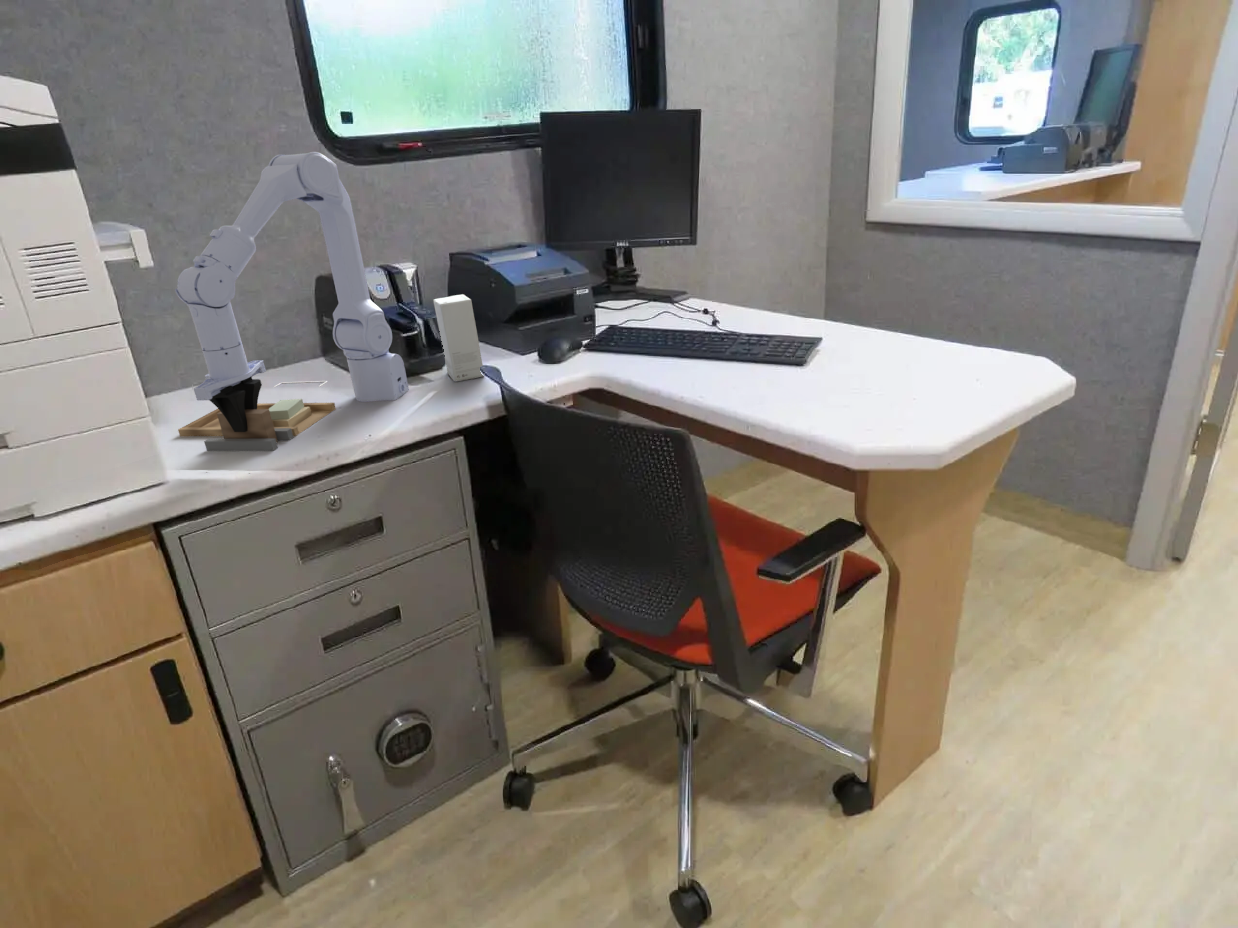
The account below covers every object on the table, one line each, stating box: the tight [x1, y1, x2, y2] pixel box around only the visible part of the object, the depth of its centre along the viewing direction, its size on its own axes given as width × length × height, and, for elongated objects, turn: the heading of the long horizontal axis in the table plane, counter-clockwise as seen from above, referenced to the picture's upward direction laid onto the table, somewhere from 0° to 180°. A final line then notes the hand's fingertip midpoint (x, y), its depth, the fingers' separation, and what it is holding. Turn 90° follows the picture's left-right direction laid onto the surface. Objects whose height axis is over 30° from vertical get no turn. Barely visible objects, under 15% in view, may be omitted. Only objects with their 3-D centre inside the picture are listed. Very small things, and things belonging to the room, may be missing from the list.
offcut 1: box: [269, 398, 304, 420], centre depth 132 cm, size 4×6×2 cm, turn 178°
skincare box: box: [432, 293, 484, 382], centre depth 152 cm, size 8×7×16 cm
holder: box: [203, 428, 294, 452], centre depth 124 cm, size 12×6×3 cm, turn 80°
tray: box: [177, 402, 337, 437], centre depth 134 cm, size 22×13×2 cm, turn 80°
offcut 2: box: [272, 407, 312, 427], centre depth 132 cm, size 5×7×2 cm
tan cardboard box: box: [217, 409, 279, 444], centre depth 123 cm, size 8×2×6 cm, turn 80°
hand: (245, 428), depth 123 cm, fingers closed on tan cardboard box, 2 cm apart
